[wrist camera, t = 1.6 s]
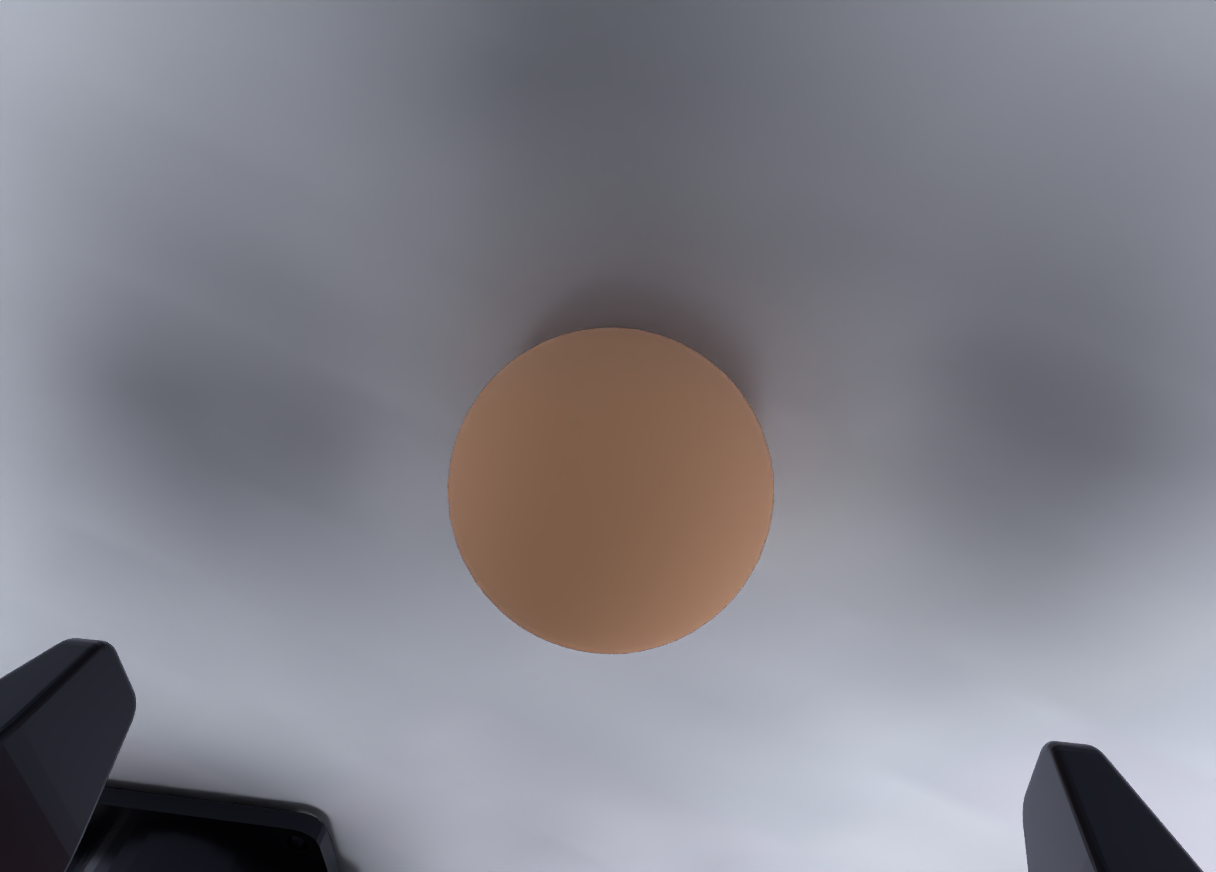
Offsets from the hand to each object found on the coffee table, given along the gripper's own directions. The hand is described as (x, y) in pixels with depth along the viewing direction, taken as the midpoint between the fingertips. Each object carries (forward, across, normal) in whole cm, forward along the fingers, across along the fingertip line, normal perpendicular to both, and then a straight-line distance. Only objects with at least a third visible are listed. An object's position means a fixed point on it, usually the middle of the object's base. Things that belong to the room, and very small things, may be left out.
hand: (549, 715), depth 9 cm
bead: (+6, 0, 0) cm, 6 cm away
